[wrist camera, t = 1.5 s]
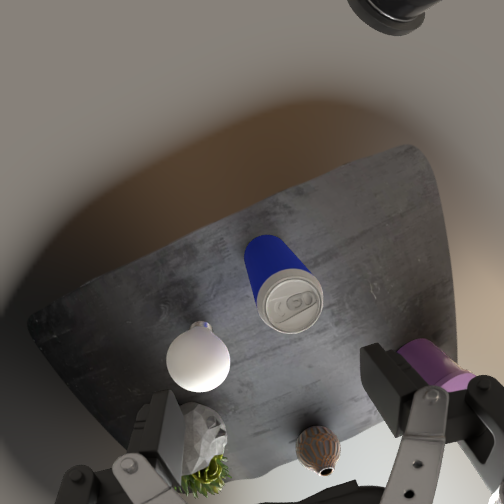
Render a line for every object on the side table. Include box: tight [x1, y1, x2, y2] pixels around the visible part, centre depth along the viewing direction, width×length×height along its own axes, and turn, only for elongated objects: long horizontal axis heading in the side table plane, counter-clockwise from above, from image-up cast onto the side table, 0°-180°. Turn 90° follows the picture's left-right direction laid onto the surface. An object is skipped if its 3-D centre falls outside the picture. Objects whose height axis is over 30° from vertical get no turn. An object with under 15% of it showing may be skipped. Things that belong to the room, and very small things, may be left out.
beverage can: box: [244, 235, 323, 334], centre depth 30 cm, size 5×5×15 cm
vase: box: [296, 426, 341, 477], centre depth 41 cm, size 7×7×9 cm
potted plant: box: [174, 402, 232, 498], centre depth 38 cm, size 12×13×15 cm
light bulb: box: [166, 321, 230, 392], centre depth 34 cm, size 7×7×11 cm
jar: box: [397, 338, 476, 392], centre depth 39 cm, size 11×11×12 cm
